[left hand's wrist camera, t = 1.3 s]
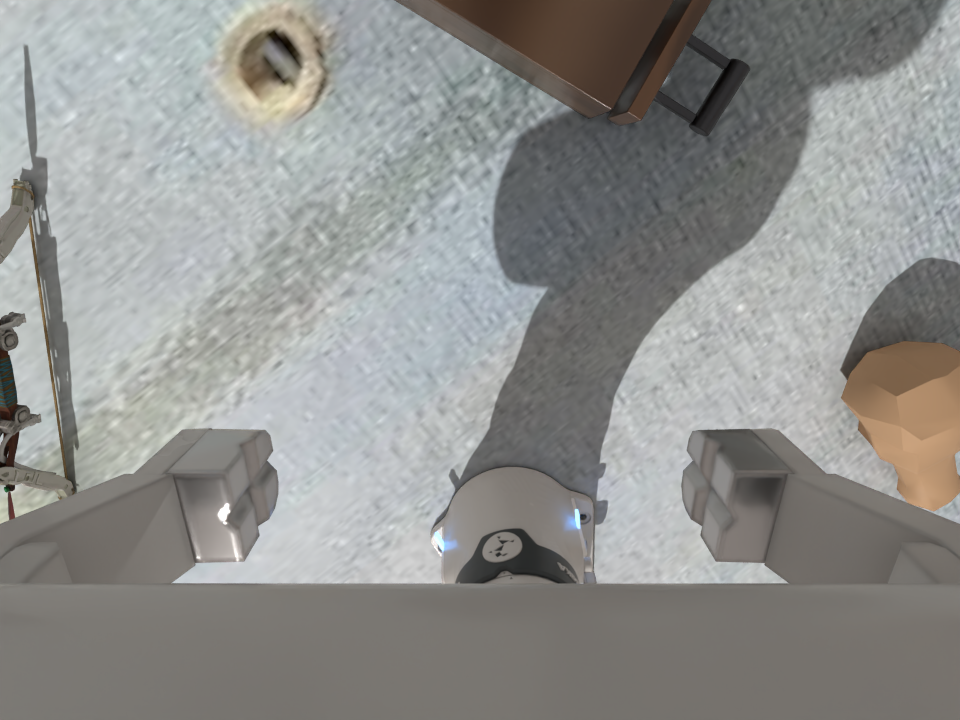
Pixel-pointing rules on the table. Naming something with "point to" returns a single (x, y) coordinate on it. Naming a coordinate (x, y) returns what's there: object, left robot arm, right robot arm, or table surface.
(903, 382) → the squash
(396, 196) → the table surface
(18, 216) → the bow
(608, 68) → the cabinet
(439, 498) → the table surface
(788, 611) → the left robot arm
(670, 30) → the drawer
